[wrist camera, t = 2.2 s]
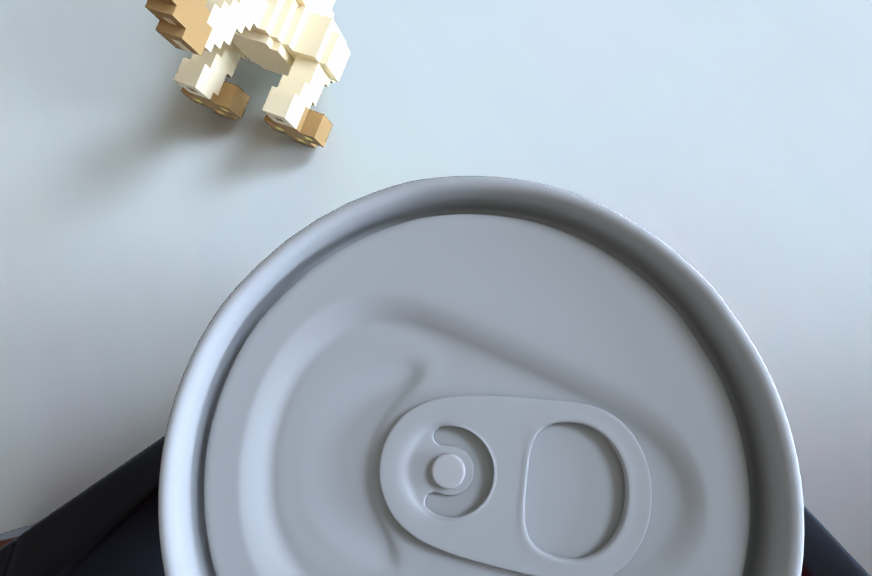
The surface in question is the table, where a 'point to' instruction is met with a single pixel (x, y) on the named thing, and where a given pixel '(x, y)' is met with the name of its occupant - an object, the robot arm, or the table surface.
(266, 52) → the cat figure
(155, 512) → the robot arm
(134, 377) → the table surface
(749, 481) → the soda can
